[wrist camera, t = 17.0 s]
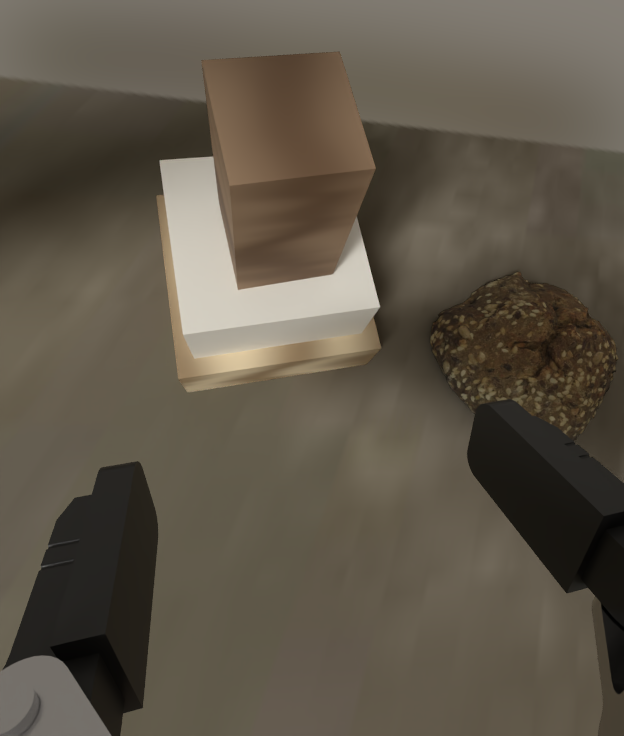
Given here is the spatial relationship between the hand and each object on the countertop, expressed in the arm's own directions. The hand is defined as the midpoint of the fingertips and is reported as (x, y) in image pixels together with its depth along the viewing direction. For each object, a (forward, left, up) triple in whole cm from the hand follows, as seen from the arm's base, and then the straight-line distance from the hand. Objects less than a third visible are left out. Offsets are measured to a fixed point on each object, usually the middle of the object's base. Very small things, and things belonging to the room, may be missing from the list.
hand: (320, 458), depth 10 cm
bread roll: (+19, +5, -18) cm, 26 cm away
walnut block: (+1, +12, -10) cm, 15 cm away
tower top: (+1, +12, -14) cm, 18 cm away
